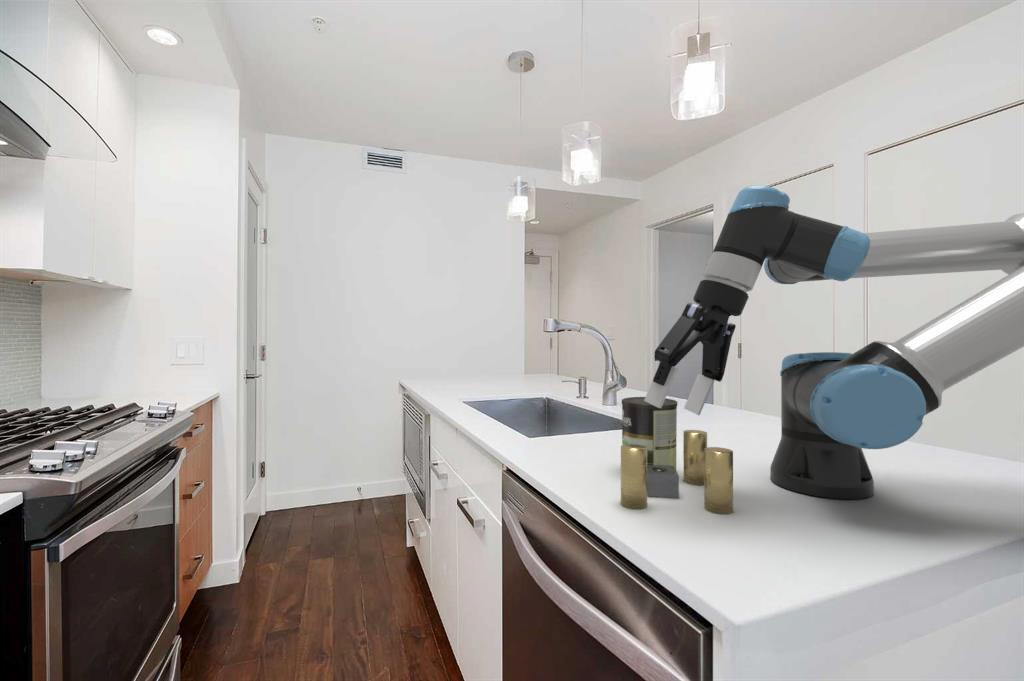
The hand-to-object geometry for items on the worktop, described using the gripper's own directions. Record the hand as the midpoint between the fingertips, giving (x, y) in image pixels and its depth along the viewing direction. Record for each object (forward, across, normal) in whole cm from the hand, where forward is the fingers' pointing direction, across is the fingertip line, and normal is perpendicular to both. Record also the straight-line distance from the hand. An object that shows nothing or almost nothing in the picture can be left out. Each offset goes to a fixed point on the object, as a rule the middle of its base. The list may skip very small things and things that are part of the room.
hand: (673, 408), depth 76 cm
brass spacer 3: (+11, -3, +12) cm, 16 cm away
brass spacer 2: (+12, -13, +3) cm, 18 cm away
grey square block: (+14, -4, +2) cm, 15 cm away
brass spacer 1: (+16, +4, +2) cm, 17 cm away
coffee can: (+15, -12, -5) cm, 20 cm away
